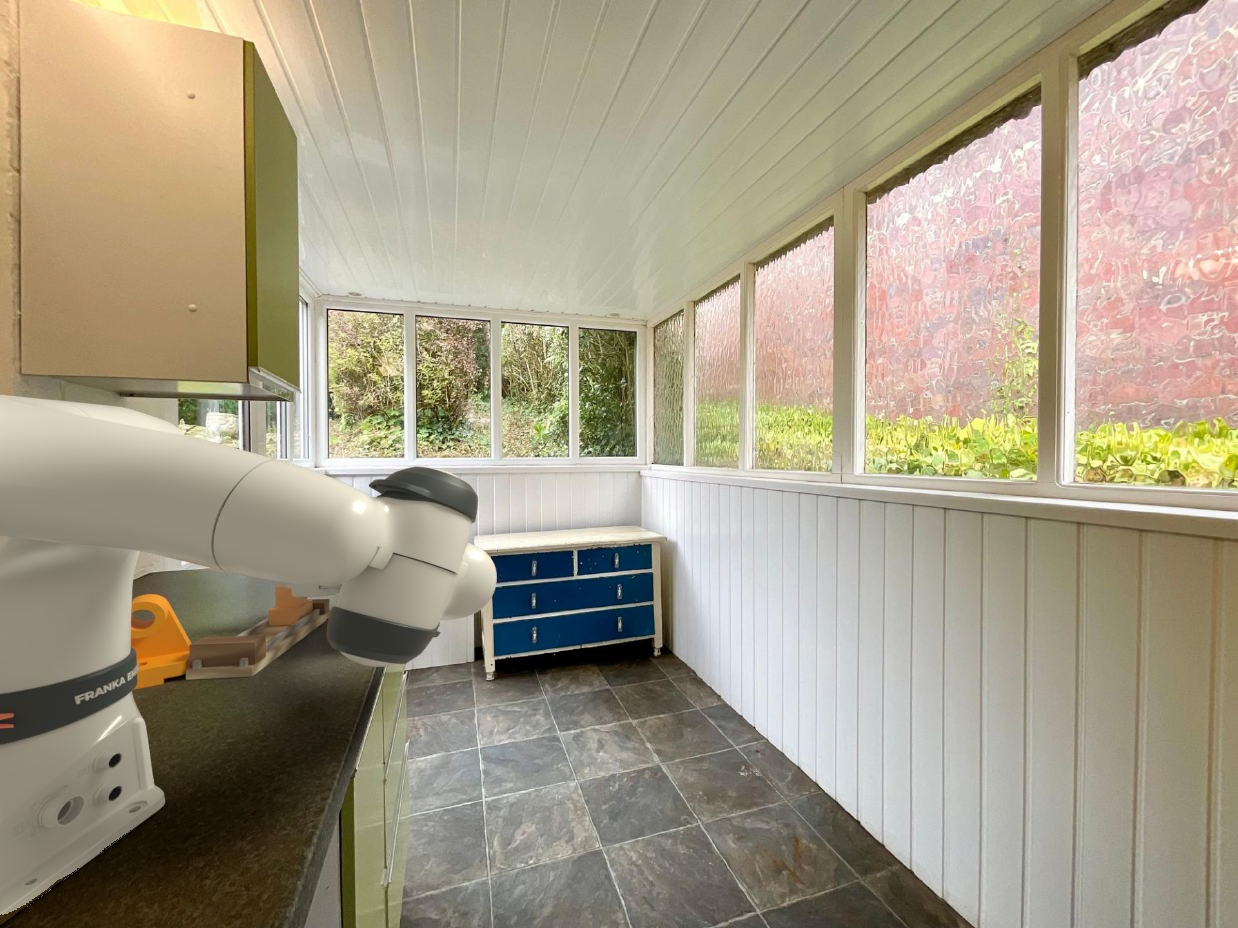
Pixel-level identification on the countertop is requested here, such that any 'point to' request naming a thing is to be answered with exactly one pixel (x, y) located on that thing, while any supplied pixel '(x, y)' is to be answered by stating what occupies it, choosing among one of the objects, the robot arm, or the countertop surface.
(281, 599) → the slider
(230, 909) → the countertop surface
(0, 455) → the robot arm
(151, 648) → the bracket
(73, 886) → the countertop surface
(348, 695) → the countertop surface
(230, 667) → the rail board
